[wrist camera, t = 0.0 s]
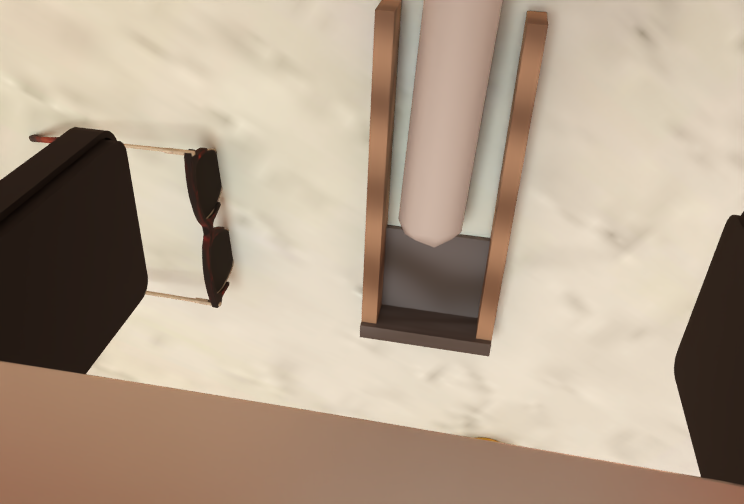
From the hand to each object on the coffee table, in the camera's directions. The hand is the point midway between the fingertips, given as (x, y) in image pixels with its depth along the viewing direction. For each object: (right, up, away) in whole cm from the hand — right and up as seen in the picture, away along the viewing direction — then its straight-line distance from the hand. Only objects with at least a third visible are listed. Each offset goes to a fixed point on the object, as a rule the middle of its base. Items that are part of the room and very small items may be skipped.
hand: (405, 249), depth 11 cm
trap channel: (+5, +5, +40) cm, 41 cm away
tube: (+5, +13, +36) cm, 38 cm away
